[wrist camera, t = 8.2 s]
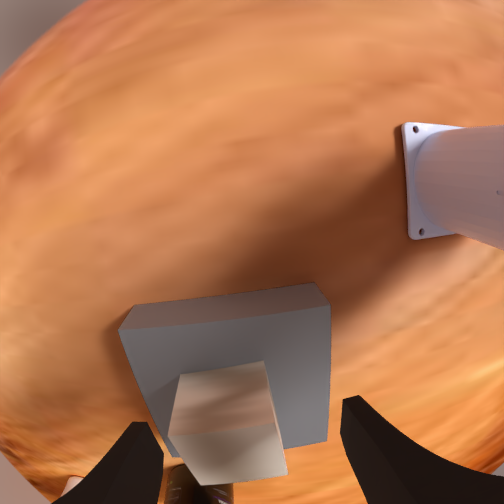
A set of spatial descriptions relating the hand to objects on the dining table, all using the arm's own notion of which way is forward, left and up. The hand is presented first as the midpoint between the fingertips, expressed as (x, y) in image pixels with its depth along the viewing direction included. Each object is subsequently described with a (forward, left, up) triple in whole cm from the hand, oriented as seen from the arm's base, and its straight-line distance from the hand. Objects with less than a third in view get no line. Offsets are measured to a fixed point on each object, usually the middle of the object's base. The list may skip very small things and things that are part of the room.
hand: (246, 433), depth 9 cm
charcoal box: (+1, +5, -11) cm, 12 cm away
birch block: (+1, +4, -7) cm, 8 cm away
